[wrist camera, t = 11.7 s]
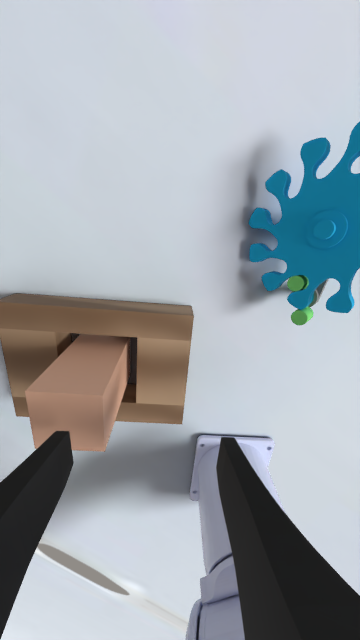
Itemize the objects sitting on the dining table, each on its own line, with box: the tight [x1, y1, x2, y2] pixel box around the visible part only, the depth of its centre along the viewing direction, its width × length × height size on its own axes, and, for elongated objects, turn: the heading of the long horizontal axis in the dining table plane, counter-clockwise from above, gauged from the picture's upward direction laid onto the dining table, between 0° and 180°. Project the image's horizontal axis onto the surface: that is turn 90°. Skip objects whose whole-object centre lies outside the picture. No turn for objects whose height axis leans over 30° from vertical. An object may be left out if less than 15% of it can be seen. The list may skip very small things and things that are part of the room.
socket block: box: [0, 293, 194, 424], centre depth 19 cm, size 10×14×2 cm
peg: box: [25, 334, 130, 452], centre depth 16 cm, size 4×4×8 cm
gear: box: [249, 122, 360, 325], centre depth 15 cm, size 11×6×10 cm
